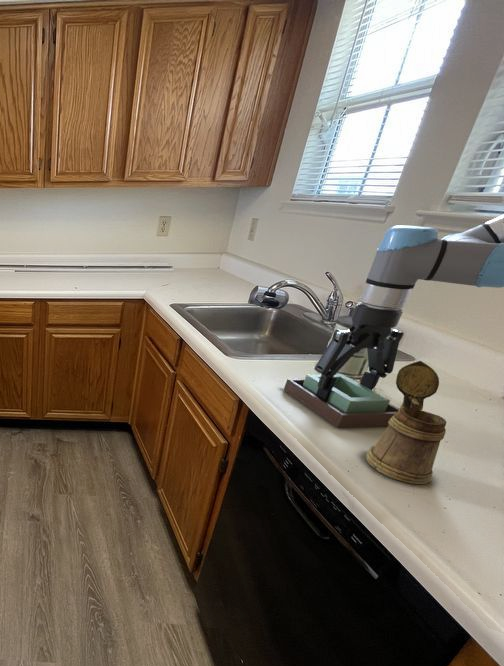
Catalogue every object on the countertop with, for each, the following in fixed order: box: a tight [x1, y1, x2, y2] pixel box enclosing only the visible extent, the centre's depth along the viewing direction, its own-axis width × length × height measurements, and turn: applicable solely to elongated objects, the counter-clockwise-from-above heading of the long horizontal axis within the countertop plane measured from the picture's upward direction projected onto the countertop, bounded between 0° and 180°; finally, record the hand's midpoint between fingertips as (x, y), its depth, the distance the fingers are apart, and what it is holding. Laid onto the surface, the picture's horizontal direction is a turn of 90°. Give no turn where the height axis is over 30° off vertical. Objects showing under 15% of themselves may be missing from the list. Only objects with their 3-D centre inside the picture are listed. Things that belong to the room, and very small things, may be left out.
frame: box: [302, 373, 391, 413], centre depth 95 cm, size 13×9×4 cm
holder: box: [283, 378, 400, 429], centre depth 96 cm, size 17×15×3 cm
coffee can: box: [326, 315, 369, 379], centre depth 111 cm, size 10×10×14 cm
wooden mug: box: [365, 360, 447, 485], centre depth 74 cm, size 9×14×18 cm, turn 155°
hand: (340, 400), depth 96 cm, fingers closed on frame, 9 cm apart
